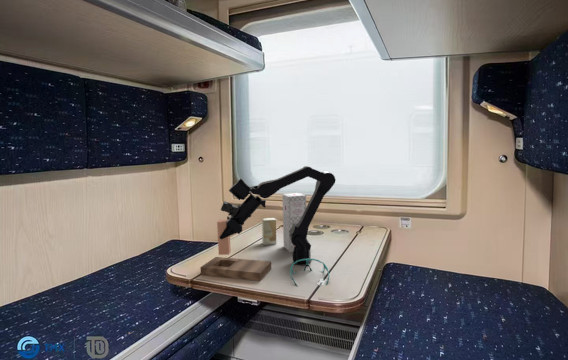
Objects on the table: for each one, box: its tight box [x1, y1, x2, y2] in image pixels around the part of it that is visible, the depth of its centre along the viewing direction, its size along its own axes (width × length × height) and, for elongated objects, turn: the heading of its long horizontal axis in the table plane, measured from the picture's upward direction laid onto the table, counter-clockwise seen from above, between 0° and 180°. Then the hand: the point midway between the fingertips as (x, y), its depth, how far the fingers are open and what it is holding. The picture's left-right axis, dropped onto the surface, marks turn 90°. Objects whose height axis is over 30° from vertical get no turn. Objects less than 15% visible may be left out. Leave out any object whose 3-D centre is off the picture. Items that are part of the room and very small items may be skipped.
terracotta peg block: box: [216, 219, 232, 256], centre depth 136 cm, size 4×4×13 cm
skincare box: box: [261, 217, 277, 246], centre depth 168 cm, size 6×4×12 cm
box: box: [281, 192, 308, 253], centre depth 159 cm, size 8×8×25 cm
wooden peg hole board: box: [199, 256, 272, 282], centre depth 132 cm, size 24×12×3 cm, turn 73°
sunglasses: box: [289, 258, 330, 287], centre depth 125 cm, size 14×15×5 cm
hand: (220, 236), depth 136 cm, fingers closed on terracotta peg block, 4 cm apart
